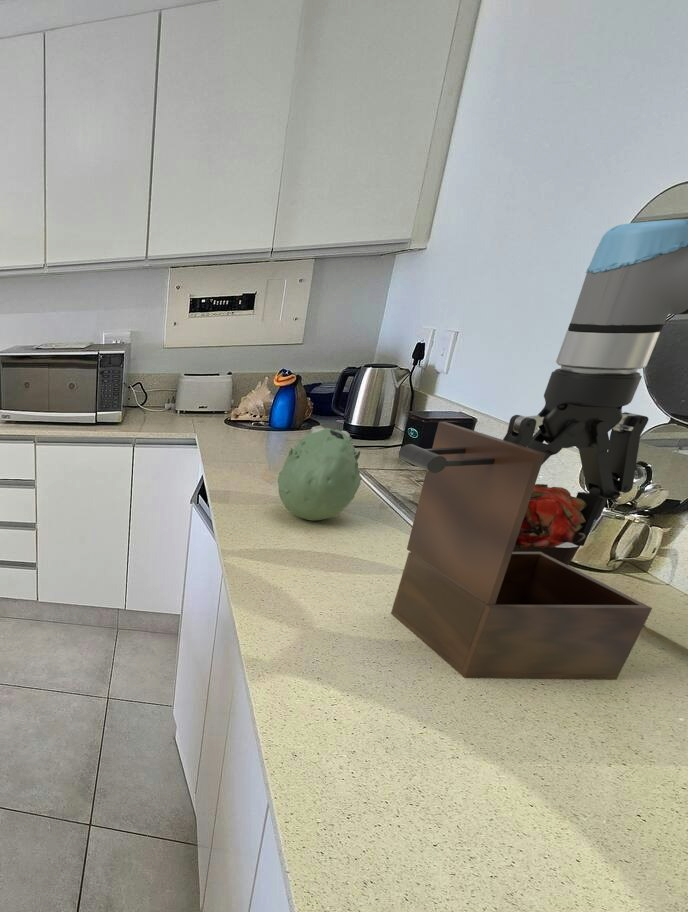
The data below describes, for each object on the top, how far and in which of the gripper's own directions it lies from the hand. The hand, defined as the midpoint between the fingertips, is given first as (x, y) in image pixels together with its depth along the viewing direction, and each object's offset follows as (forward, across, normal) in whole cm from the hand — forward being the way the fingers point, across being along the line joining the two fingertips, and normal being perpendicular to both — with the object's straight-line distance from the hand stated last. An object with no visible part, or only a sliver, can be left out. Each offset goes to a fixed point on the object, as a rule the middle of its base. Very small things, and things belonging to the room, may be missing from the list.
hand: (530, 541), depth 77 cm
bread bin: (+16, 0, 0) cm, 16 cm away
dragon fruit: (0, 0, 0) cm, 0 cm away
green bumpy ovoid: (+16, +3, -50) cm, 53 cm away
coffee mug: (+16, -15, -17) cm, 28 cm away
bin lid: (-5, +9, 0) cm, 10 cm away
